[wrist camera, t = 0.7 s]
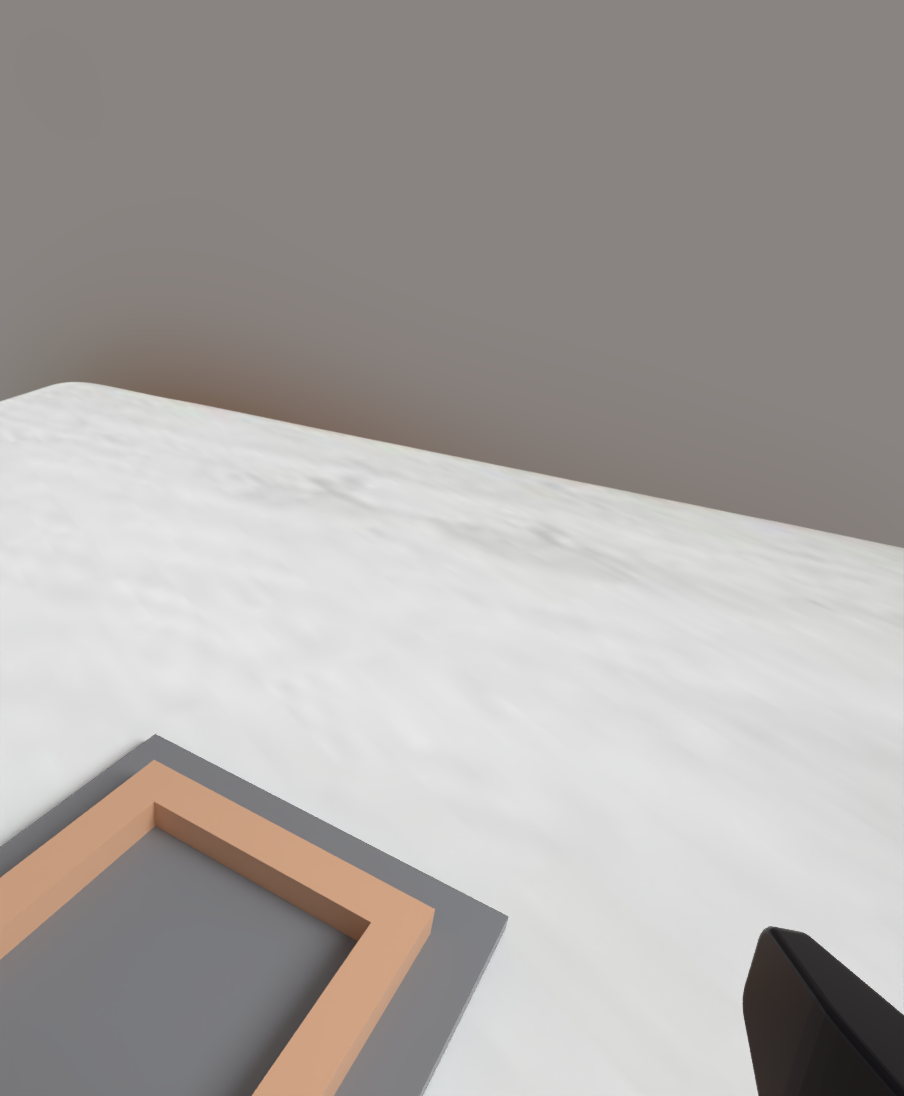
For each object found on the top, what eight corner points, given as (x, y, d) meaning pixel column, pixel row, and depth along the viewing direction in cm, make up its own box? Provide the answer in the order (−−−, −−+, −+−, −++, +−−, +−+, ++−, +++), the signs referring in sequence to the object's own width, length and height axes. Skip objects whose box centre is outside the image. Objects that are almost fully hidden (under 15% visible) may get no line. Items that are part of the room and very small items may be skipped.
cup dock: (156, 1634, 13) (152, 1607, 12) (-341, 1116, 19) (-367, 1074, 18) (505, 928, 26) (514, 892, 26) (155, 745, 32) (154, 711, 31)
